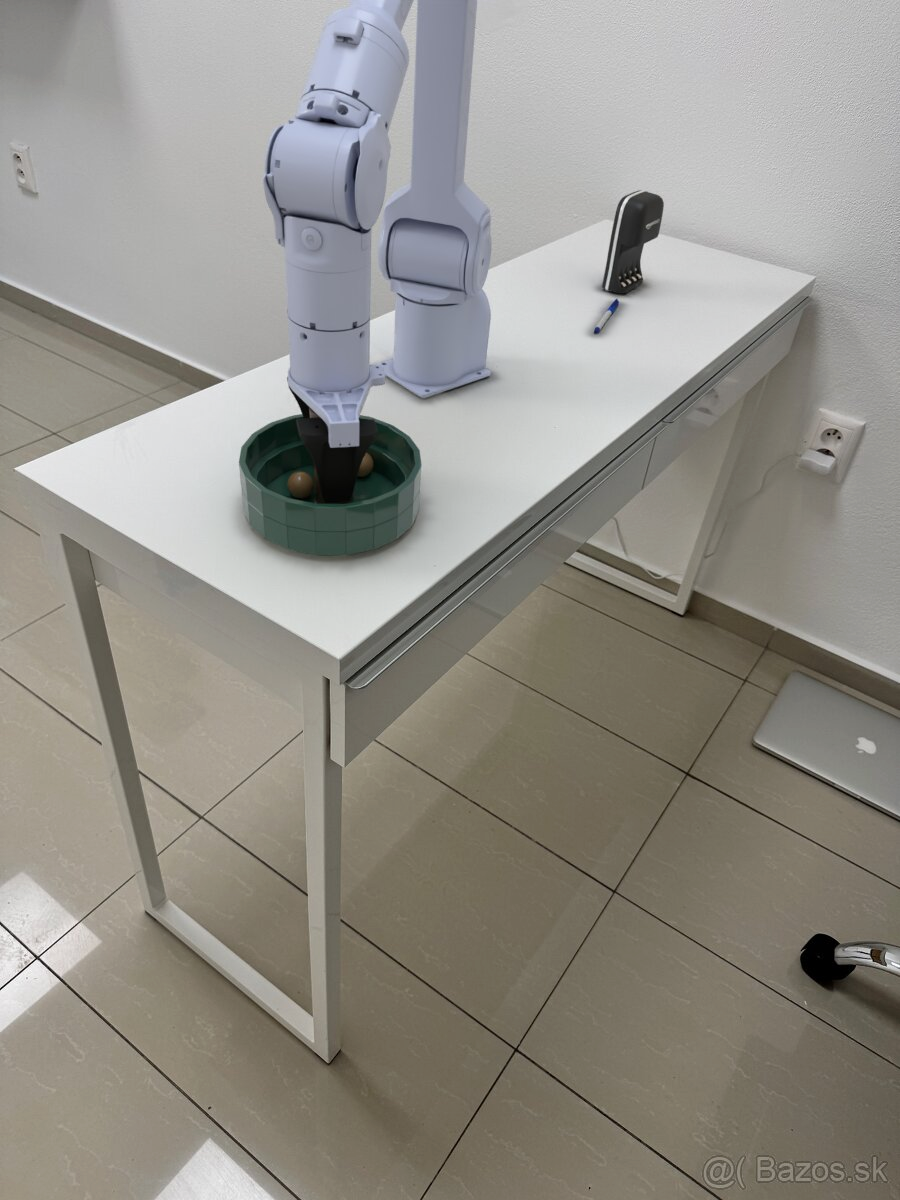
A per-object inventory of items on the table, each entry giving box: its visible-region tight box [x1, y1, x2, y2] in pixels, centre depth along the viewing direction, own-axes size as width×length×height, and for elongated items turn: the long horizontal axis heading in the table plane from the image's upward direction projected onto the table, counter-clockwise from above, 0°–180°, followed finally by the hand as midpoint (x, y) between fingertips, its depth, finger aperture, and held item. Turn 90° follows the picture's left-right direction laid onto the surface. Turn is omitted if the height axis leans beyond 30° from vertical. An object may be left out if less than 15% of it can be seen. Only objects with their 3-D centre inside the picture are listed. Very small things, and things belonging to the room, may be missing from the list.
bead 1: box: [287, 471, 315, 499], centre depth 71 cm, size 2×2×2 cm
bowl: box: [238, 413, 422, 557], centre depth 70 cm, size 14×14×5 cm
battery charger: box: [601, 189, 665, 294], centre depth 110 cm, size 7×4×11 cm, turn 143°
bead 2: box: [357, 453, 373, 477], centre depth 74 cm, size 2×2×2 cm
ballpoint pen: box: [593, 298, 620, 334], centre depth 105 cm, size 10×1×1 cm, turn 159°
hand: (331, 479), depth 70 cm, fingers open, 5 cm apart
